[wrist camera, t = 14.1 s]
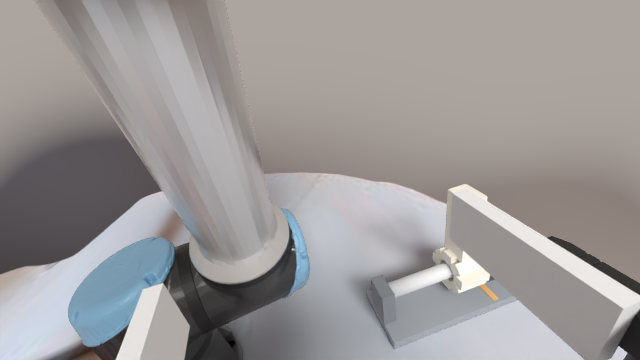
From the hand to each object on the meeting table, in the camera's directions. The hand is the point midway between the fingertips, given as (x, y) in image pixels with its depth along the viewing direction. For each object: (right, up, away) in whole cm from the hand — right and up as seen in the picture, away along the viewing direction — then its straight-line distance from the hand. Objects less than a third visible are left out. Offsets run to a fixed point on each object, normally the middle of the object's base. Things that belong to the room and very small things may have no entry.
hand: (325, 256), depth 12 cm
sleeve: (+23, -14, +34) cm, 43 cm away
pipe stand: (+22, -16, +35) cm, 44 cm away
